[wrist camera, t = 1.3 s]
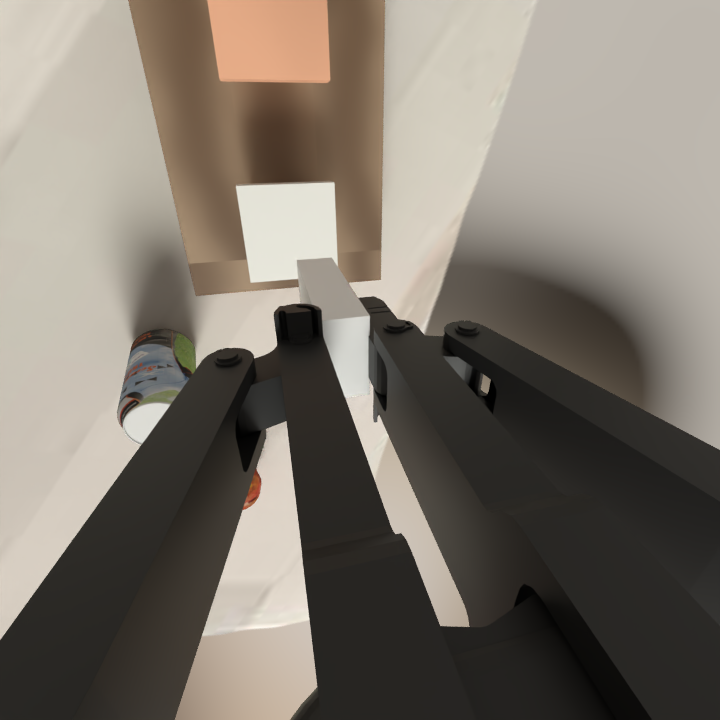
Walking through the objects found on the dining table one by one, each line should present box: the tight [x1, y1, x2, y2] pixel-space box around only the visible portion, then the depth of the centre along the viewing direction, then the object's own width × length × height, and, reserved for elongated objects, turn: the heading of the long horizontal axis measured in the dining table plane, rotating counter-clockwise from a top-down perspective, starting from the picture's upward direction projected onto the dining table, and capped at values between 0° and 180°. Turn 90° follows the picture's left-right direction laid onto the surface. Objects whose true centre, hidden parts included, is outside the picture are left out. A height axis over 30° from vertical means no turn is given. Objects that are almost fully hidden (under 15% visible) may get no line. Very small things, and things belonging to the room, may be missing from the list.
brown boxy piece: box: [128, 0, 385, 296], centre depth 32 cm, size 16×23×7 cm
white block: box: [236, 181, 338, 283], centre depth 31 cm, size 6×6×8 cm
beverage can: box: [117, 329, 196, 445], centre depth 37 cm, size 6×7×12 cm
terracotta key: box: [207, 0, 330, 83], centre depth 25 cm, size 6×6×8 cm
